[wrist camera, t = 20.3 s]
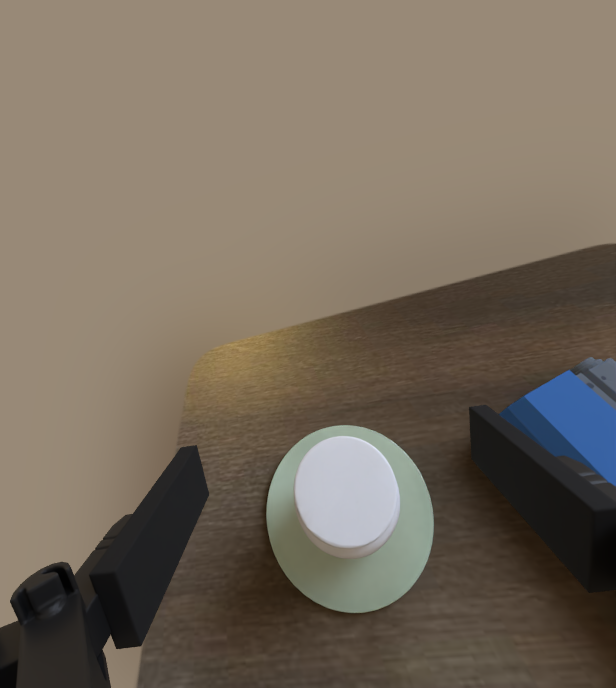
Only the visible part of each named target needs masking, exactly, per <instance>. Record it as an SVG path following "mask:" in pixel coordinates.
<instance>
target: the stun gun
mask: <svg viewBox="0 0 616 688" xmlns="http://www.w3.org/2000/svg"><path fill="white" fill-rule="evenodd" d="M499 415H500V416H501V417H503V418H504V419H505V420H507V421H508V422H509V423H511V424H512V425H513V426H515V427H516V428H518V429H519V430H520V431H522V432H523V433H524V434H526V435H527V436H528V437H530V438H531V439H532V440H534V441H535V442H536V443H538V444H539V445H540V446H542V447H543V448H544V449H546V450H547V451H548V452H550V453H551V454H553V455H554V456H555V457H557V456H564V455H565V456H567V457H569V458H572V459H574V460H576V461H579V462H581V463H583V464H584V465H586V466H587V467H589V468H590V469H591V470H593V471H594V472H596V474H599V475H600V476H602V477H603V478H604V479H606V480H607V482H608V483H609V482H610V483H612V484H613V485H614V486H616V362H615V361H614V360H612V359H611V358H610V359H607V360H605V361H602V360H601V359H597V360H595V359H594V358H591V357H590V358H588V359H586V360H584V361H583V362H581V363H579V364H578V365H576V366H575V367H573V368H572V369H571V370H568V371H566V372H565V373H563V374H561V375H559V376H558V377H556V378H554V379H552V380H551V381H549V382H547V383H546V384H544V385H542V386H540V387H539V388H537V389H534V390H533V391H531V392H529V393H528V394H526V395H524V396H523V397H521V398H520V399H518V400H517V401H515V402H514V403H513V404H511V405H510V406H508V407H507V408H506V409H505V410H503V411H502V412H501V413H500V414H499Z"/></svg>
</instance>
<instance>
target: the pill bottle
mask: <svg viewBox="0 0 616 688" xmlns="http://www.w3.org/2000/svg"><path fill="white" fill-rule="evenodd" d="M294 504H295V510H296V514H297V517H298V520H299V523H300V525H301V527H302V529H303V530H304V532H305V534H306V535H307V537H308V538H309V539H310V540H311V542H313V543H314V544H315V545H316V546H317V547H318V548H319V549H321V550H322V551H324V552H325V553H327V554H329V555H331V556H334V557H338V558H343V559H357V558H362V557H366V556H368V555H371V554H372V553H374V552H376V551H377V550H379V549H380V548H381V547H382V546H383V545H384V544H385V543H386V542H387V541H388V539H389V538H390V537H391V535H392V533H393V531H394V529H395V527H396V524H397V522H398V518H399V513H400V494H399V488H398V484H397V481H396V479H395V475H394V473H393V470H392V468H391V466H390V464H389V463H388V461H387V460H386V458H385V457H384V456H383V455H382V453H381V452H380V451H379V450H377V449H376V448H375V447H374V446H372V445H371V444H369V443H368V442H366V441H364V440H362V439H359V438H355V437H350V436H337V437H332V438H328V439H325V440H323V441H321V442H319V443H318V444H316V445H315V446H314V447H312V448H311V449H310V450H309V451H308V452H307V453H306V455H305V456H304V457H303V459H302V460H301V462H300V464H299V466H298V469H297V472H296V475H295V480H294Z"/></svg>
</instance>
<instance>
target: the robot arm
mask: <svg viewBox="0 0 616 688" xmlns="http://www.w3.org/2000/svg"><path fill="white" fill-rule="evenodd" d="M469 414H470V437H471V459H472V460H473V461H474V462H475V464H476V465H477V466H478V467H479V468H480V469H481V470H482V472H483V473H484V474H485V475H486V476H487V477H488V478H489V480H490V481H491V482H492V483H493V484H494V485H495V486H496V487H497V489H498V490H499V491H500V492H501V493H502V494H503V495H504V497H505V498H506V499H507V500H508V501H509V502H510V503H511V505H512V506H513V507H514V508H515V509H516V510H517V511H518V513H519V514H520V515H521V516H522V517H523V518H524V519H525V520H526V522H527V523H528V524H529V525H530V526H531V527H532V528H533V530H534V531H535V532H536V533H537V534H538V535H539V536H540V538H541V539H542V540H543V541H544V542H545V543H546V544H547V546H548V547H549V548H550V549H551V550H552V551H553V552H554V554H555V555H556V556H557V557H558V558H559V559H560V560H561V561H562V563H563V564H564V565H565V566H566V567H567V568H568V569H569V571H570V572H571V573H572V574H573V575H574V576H575V577H576V579H577V580H578V581H579V582H580V583H581V584H582V585H583V587H584V588H585V589H586V590H587V591H588V592H589V593H593V592H601V591H610V590H616V486H614V485H613V484H612V483H610V482H609V483H608V482H607V480H606V479H604V478H603V477H602V476H600V475H599V474H596V472H594V471H593V470H591V469H590V468H589V467H587V466H586V465H584V464H583V463H581V462H579V461H576V460H574V459H572V458H569V457H567V456H565V455H564V456H557V457H555V456H554V455H553V454H551V453H550V452H548V451H547V450H546V449H544V448H543V447H542V446H540V445H539V444H538V443H536V442H535V441H534V440H532V439H531V438H530V437H528V436H527V435H526V434H524V433H523V432H522V431H520V430H519V429H518V428H516V427H515V426H513V425H512V424H511V423H509V422H508V421H507V420H505V419H504V418H503V417H501V416H500V415H499V414H497V413H496V412H495V411H493V410H492V409H491V408H489V407H488V406H487V405H481V406H473V407H469ZM208 496H209V492H208V488H207V484H206V480H205V476H204V472H203V468H202V464H201V460H200V456H199V452H198V448H197V445H195V446H187V447H181V448H180V450H179V451H178V453H177V454H176V455H175V457H174V458H173V459H172V461H171V462H170V464H169V465H168V466H167V468H166V469H165V470H164V472H163V473H162V475H161V476H160V477H159V479H158V480H157V481H156V483H155V484H154V486H153V487H152V488H151V490H150V491H149V492H148V494H147V495H146V497H145V498H144V499H143V501H142V502H141V503H140V505H139V506H138V508H137V509H136V510H135V512H134V513H133V514H129V515H125V516H124V517H123V518H122V519H120V520H119V521H118V522H117V523H116V524H114V525H113V526H112V527H111V529H110V530H109V531H108V532H107V534H106V535H105V537H104V538H103V540H102V541H101V542H100V543H99V544H98V545H97V547H96V548H95V550H94V551H93V552H92V553H91V554H90V556H89V557H88V559H87V560H86V561H85V562H84V563H83V565H82V566H81V568H80V569H79V570H78V571H77V573H76V574H75V575H74V574H73V572H72V569H71V567H70V565H69V564H68V563H65V562H59V563H54V564H51V565H49V566H47V567H44V568H42V569H41V570H39V571H37V572H36V573H34V574H33V575H31V576H30V577H29V578H27V579H26V580H25V581H24V582H23V583H22V584H20V586H19V587H18V588H17V590H16V591H15V592H14V593H13V595H12V597H11V600H10V603H11V605H12V607H13V609H14V612H15V614H16V616H17V618H18V621H16V622H13V623H11V624H8V625H6V626H3V627H1V628H0V688H111V685H110V680H109V674H108V668H107V663H106V658H105V655H104V652H103V650H102V649H103V647H104V645H105V644H106V642H107V640H108V638H109V636H110V635H111V636H112V639H113V641H114V644H115V647H116V649H122V648H130V647H138V646H141V645H142V643H143V641H144V639H145V637H146V634H147V632H148V630H149V628H150V625H151V623H152V621H153V619H154V616H155V614H156V612H157V610H158V607H159V605H160V603H161V601H162V599H163V596H164V594H165V592H166V590H167V587H168V585H169V583H170V581H171V578H172V576H173V574H174V572H175V569H176V567H177V565H178V563H179V561H180V558H181V556H182V554H183V552H184V549H185V547H186V545H187V543H188V540H189V538H190V536H191V534H192V531H193V529H194V527H195V525H196V523H197V520H198V518H199V516H200V514H201V511H202V509H203V507H204V505H205V502H206V500H207V498H208Z"/></svg>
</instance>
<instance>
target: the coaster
mask: <svg viewBox="0 0 616 688" xmlns="http://www.w3.org/2000/svg"><path fill="white" fill-rule="evenodd" d="M337 436H350V437H355V438H359V439H362V440H364V441H366V442H368V443H369V444H371V445H372V446H374V447H375V448H376V449H377V450H379V451H380V452H381V453H382V455H383V456H384V457H385V458H386V460H387V461H388V463H389V464H390V466H391V468H392V470H393V473H394V475H395V479H396V481H397V484H398V488H399V494H400V513H399V518H398V522H397V524H396V527H395V529H394V531H393V533H392V535H391V537H390V538H389V539H388V541H387V542H386V543H385V544H384V545H383V546H382V547H381V548H380V549H379V550H377V551H376V552H374V553H372V554H371V555H368V556H366V557H362V558H357V559H343V558H338V557H334V556H331V555H329V554H327V553H325V552H324V551H322V550H321V549H319V548H318V547H317V546H316V545H315V544H314V543H313V542H311V540H310V539H309V538H308V537H307V535H306V534H305V532H304V530H303V529H302V527H301V525H300V523H299V520H298V517H297V514H296V510H295V504H294V480H295V475H296V472H297V469H298V466H299V464H300V462H301V460H302V459H303V457H304V456H305V455H306V453H307V452H308V451H309V450H310V449H311V448H312V447H314V446H315V445H316V444H318V443H319V442H321V441H323V440H325V439H328V438H332V437H337ZM266 519H267V529H268V534H269V539H270V543H271V546H272V549H273V552H274V555H275V557H276V559H277V561H278V563H279V565H280V567H281V568H282V570H283V571H284V573H285V575H286V576H287V577H288V579H289V580H290V581H291V582H292V583H293V585H294V586H295V587H296V588H297V589H298V590H300V591H301V592H302V593H303V594H304V595H305V596H307V597H308V598H310V599H311V600H313V601H314V602H316V603H318V604H320V605H322V606H324V607H326V608H329V609H332V610H335V611H339V612H346V613H365V612H370V611H375V610H378V609H380V608H383V607H386V606H388V605H390V604H391V603H393V602H395V601H396V600H398V599H399V598H400V597H402V596H403V595H404V594H405V593H406V592H407V591H408V590H409V589H410V588H411V587H412V586H413V585H414V583H415V582H416V581H417V579H418V578H419V576H420V574H421V573H422V571H423V569H424V567H425V565H426V562H427V560H428V557H429V554H430V550H431V547H432V540H433V534H434V518H433V508H432V503H431V499H430V495H429V492H428V489H427V486H426V484H425V482H424V479H423V477H422V475H421V473H420V472H419V470H418V468H417V467H416V465H415V464H414V462H413V461H412V460H411V459H410V457H409V456H408V455H407V454H406V453H405V452H404V451H403V450H402V449H401V448H400V447H399V446H398V445H396V444H395V443H394V442H393V441H391V440H390V439H388V438H387V437H385V436H383V435H382V434H379V433H377V432H375V431H373V430H370V429H366V428H363V427H358V426H348V425H342V426H333V427H328V428H324V429H321V430H318V431H316V432H314V433H312V434H310V435H308V436H306V437H305V438H303V439H302V440H300V441H299V442H298V443H297V444H296V445H295V446H293V447H292V448H291V450H290V451H289V452H288V453H287V454H286V455H285V457H284V458H283V460H282V461H281V462H280V464H279V466H278V468H277V470H276V472H275V474H274V476H273V479H272V482H271V485H270V489H269V493H268V499H267V510H266Z"/></svg>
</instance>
